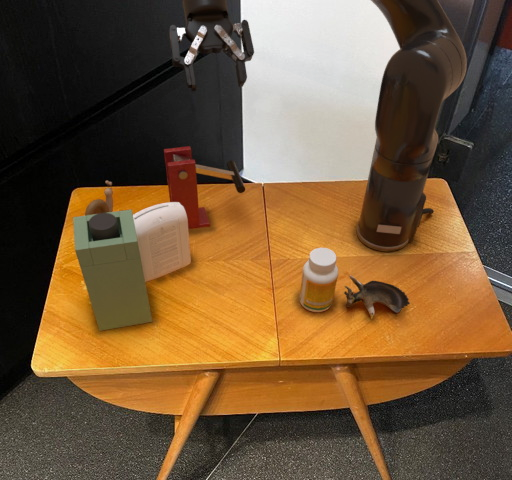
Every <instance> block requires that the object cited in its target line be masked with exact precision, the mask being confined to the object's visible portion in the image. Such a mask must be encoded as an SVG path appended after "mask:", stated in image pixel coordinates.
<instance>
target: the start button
mask: <svg viewBox="0 0 512 480" xmlns="http://www.w3.org/2000/svg"><path fill="white" fill-rule="evenodd" d="M89 226H90V230H91V234H92V238H93V241H99V240H106V239H113V238H120V234H119V229H118V224H117V220H116V217H115V216H114V215H112V214H110V213H99V214H96V215H94V216H93V217H91V219H90V220H89Z"/></svg>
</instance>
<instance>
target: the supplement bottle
mask: <svg viewBox="0 0 512 480" xmlns="http://www.w3.org/2000/svg"><path fill="white" fill-rule="evenodd" d="M338 276H339V268H338V266H337V254H336V253H335V251H334V250H332V249H330V248H327V247H315V248H314V249H312V250H311V251H310V253H309V254H308V260H307V261H306V262H305V263H304V265H303V266H302V273H301V282H300V289H299V297H298V298H299V303H300V305H301V307H303V308H304V309H305V310H307V311H310V312H313V313H323V312H325V311H327V310H328V309H330V308H331V307H332V305H333V302H334V297H335V291H336V287H337V281H338V278H339V277H338Z"/></svg>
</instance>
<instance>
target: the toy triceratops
mask: <svg viewBox="0 0 512 480" xmlns="http://www.w3.org/2000/svg"><path fill="white" fill-rule="evenodd" d="M348 277H349V279H350V280H351V282H353V284H354V285H355V286H356V287H357V289H358V291H357V292H355V293H354V291H353V289H352V288H350V287H349V286H347V285H344V288H345V289H346V290H347V291H344V295H345V297H346V304H345V307H346V308H347V307H352V306H353V305H354V304H356V303H360V302H362V303H363V305H364V307H365V308H366V309H367V311H368V314H369V317H370V320H373V319H374V316H375V308H374V304H375V303H379V304H382V305H383V306H385V307H387V308H389V309H390V310H391V311H393V312H394V313H396V314H398V313H401V310H402V309H404V308H405V307H408V305H410V304H411V303H410V302H409V297H408V295H407V294H406V292H404V291H403V290H402V289H400V288H399V287H397V286H396V285H394V284H391V283H387V282H383V281H379V280H370V281H368V282H366V283H364V284H363V283H362V282H360V281H359V280H357V279H356V277H354V276H353V275H351V274H349V275H348Z"/></svg>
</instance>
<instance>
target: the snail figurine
mask: <svg viewBox="0 0 512 480" xmlns="http://www.w3.org/2000/svg"><path fill="white" fill-rule="evenodd" d="M105 184H106V185H108V186H112V185H113V182H112V181H109V180H107V179H106V180H105ZM103 194H104V196H105V200H103V199H101V198H97V199H94V200H92V201H90V203H89V204H87V206H86V208H85V210H84V211H85V212H84V216H86V215H93V214H99V213H108V212H114V198H113V195H114V191H113V188H112V187H107V188H105V190H104V193H103Z"/></svg>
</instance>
